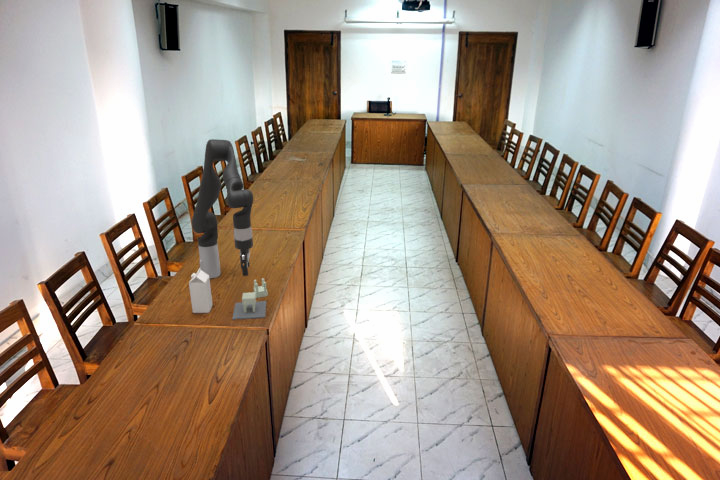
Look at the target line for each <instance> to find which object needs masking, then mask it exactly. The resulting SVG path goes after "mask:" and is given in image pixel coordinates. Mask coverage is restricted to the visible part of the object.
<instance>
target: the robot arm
mask: <svg viewBox="0 0 720 480" xmlns="http://www.w3.org/2000/svg"><path fill="white" fill-rule="evenodd" d="M204 151H205V152H204V162H203V169H202V175H201V180H200V185H199V189H198V195H197V196H198V197H197V201H196V206H195V208H194V211H193V215H192V218H191V228H192V230H193V231H194V232H195V233H196V234H202V235H201V236H199V237H198V239H197V244H198V252H199V253H198V254H199V260H198V261H199V268H200V269H201V270H202V271H203V272H205V273H206V274H208V275H209V279H215V278H218V277H220V276H221V273H222V272H221V264H220V255H219V253H220V252H219V246H218V244H219V243H218V239H219V234H218V233H219V231H218V220H217V217H216V215H215V214H214V212H212V211H210V209H211V208H212V207H213V205H215V203H216V201H218V199H219V197H220V193H221V189H222V182H221V180H220V177H219V175H218V174H217V172H216V169H215V168H214V162H215V161H216V162H218V161H219V162H227V164H226V166H225V168H224V170H223V172H222V181H223V183H224V186H225V189H226V203H227V205H228V207H229V208H232V209H240V208H242V209H241V210H239V211H237V212H234V213H233V215H232V220H233V239H234V241H233V242H234V247H235V249H237V250H239V261H240V269H241V270H242V276H243V277H247V276H249V267H251V266H250V256H251V252H250V251H251V250H250V249H252V248H253V247H254V241H253V238H254V237H253V230H252V222H251V214H252V209H253V204H254V195H253V191H251V190H250V189H247V188H246V189H244V182H243V180H242V178H241V175H240V173H239V170H238V169H239V168H238V165H237V159H236V156H235V150H234V147H233V144H232V143H231V141H230V140H227V139H217V138H216V139H213V138H211V139H208V140H207V142H206V144H205V149H204Z"/></svg>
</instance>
